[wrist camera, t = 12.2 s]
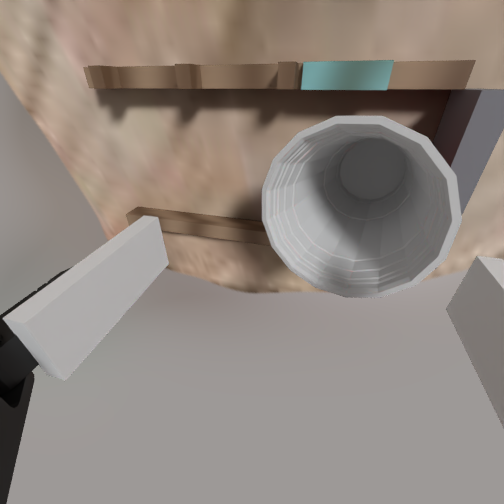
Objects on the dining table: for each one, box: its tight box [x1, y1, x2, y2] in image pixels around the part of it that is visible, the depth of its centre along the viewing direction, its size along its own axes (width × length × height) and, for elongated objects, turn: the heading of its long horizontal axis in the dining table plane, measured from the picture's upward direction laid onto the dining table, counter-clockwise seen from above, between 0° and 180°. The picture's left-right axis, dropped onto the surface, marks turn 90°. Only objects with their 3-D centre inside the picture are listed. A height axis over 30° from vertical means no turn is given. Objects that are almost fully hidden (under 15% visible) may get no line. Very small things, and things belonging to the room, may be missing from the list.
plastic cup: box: [262, 116, 462, 298], centre depth 19 cm, size 11×11×12 cm
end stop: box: [433, 89, 504, 269], centre depth 21 cm, size 2×13×5 cm, turn 0°
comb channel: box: [83, 60, 476, 246], centre depth 25 cm, size 31×16×4 cm, turn 90°
